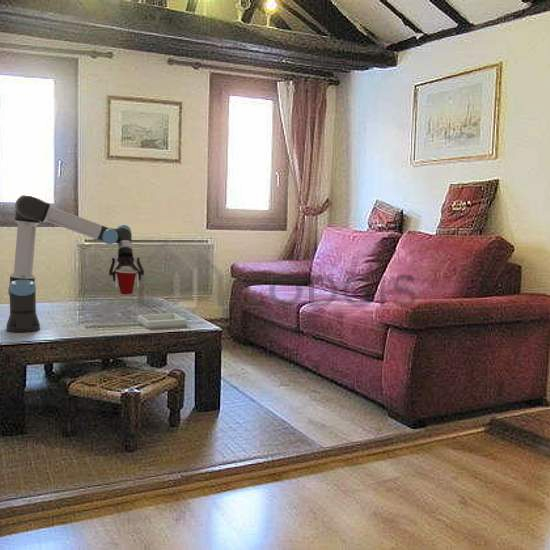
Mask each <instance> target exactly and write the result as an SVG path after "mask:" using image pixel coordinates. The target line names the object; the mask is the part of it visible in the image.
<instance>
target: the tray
mask: <svg viewBox="0 0 550 550" xmlns="http://www.w3.org/2000/svg"><path fill="white" fill-rule="evenodd" d="M137 323H139V324H140V323H141V324H142V325H141V324H140V325H141V326H143V328H146V329H147V330H153V329H155V330H156V329H167V328H181V327H182V328H184V327H185V328H187V325H188V324H187V319H186V318H184V317H183V316H181V315H178V314H177V313H175V312H173V313H172V312H171V313H154V314H138V315H137Z"/></svg>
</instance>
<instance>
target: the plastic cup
mask: <svg viewBox="0 0 550 550" xmlns="http://www.w3.org/2000/svg"><path fill="white" fill-rule="evenodd" d="M116 273H117V284H118V287H119V293H120V294H121V295H132V294H133V292H134V286H135V279H136V277H137V274H136V273H137V271H136V270H133V269H127V268H120V269H117V270H116Z"/></svg>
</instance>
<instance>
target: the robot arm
mask: <svg viewBox="0 0 550 550" xmlns="http://www.w3.org/2000/svg"><path fill="white" fill-rule="evenodd" d="M14 208H15V212H14V213H15V215H14V222H15V223H16V224H17V229H16V240H15V242H16V243H15V253H14V266H13V273H12V274H10V275H9V282H8V283H9V286H8V289H7V294H8V297H9V316H8V320H7V322H6V326H5V327H6V331H7V332H9V333H31V332H36V331H39V330H40V329H41V323H40V320H39V317H38V316H37V315H38V314H37V312H36V311H37V309H36V308H37V299H36V297H37V296H36V294H37V293H36V290H37V286H36V283H35V282H36V277H35V276H34V275H33V271H34V268H33V266H34V256H35V245H36V233H37V227H38V225H39V224H40V223H46V222H47V223H49V224H53V225H56V226H58V227H61V228H64V229H67V230H68V231H72V232H74V233H78V234H80V235H84V236H86V237H89V238H92V239H93V240H94V241H96V242H103V243H105V244H107V245H112V244H117V247H116V248H117V258H115V257H112V258H111V264H110V268H109V271H108V276H111V277H112V281H113V282H115V288H118V277H117V273H116V270H117V269H122V267H129V268H131V270H136V271H137V273H136V285H137V286H136V287H137V288H139V287H140V281H142V276H144V275H145V274H144V273H145V270H144V268H143V265H142V264H141V261H140V257H136V258H135V257H134V253H133V250H134V249H133V240H132V239H133V237H132V229H131V228H130V226H128V225H126V224H122V225H118V226H117V228H112V227H107V226H106V225H102V224H100V223H97V222H95V221H92V220H89V219H86V218H83V217H80V216H78V215H75V214H72V213H70V212H67V211H66V210H65V211H64V210H61V209H59V208H56V207H54V206H52V204H51V203H50V202H47V201H44V200H42V199H40V198H39V197H37V196H36V195H35V194H31V193H30V194H23V195H20V196H19V197H18V198H17V199H16V202H15V205H14ZM117 262H118V264H117V266H116V267H115V265H116V263H117ZM134 262H135V263H134ZM135 264H136V265H135Z"/></svg>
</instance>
